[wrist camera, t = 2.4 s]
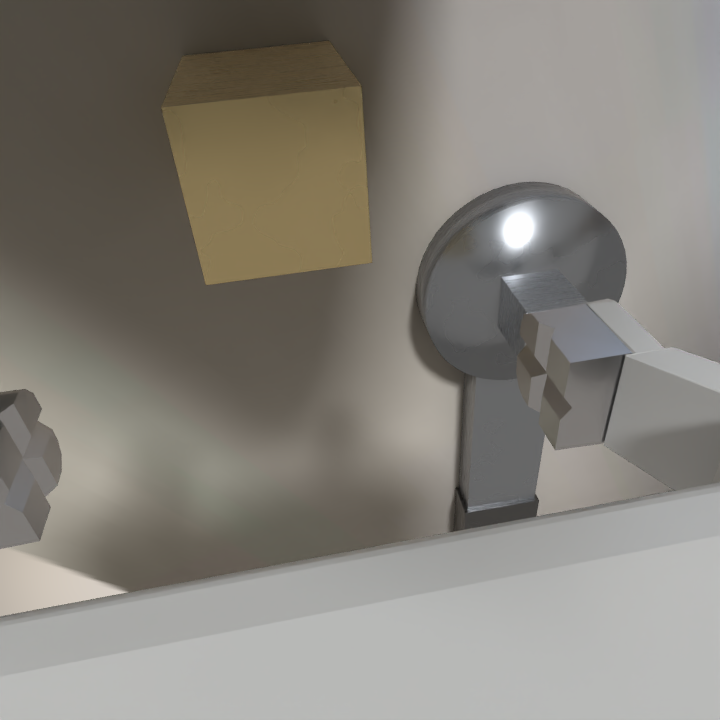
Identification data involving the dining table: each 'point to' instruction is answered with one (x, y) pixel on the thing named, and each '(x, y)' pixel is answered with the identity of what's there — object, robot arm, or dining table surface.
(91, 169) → the dining table surface
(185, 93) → the tan rectangular block
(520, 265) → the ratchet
